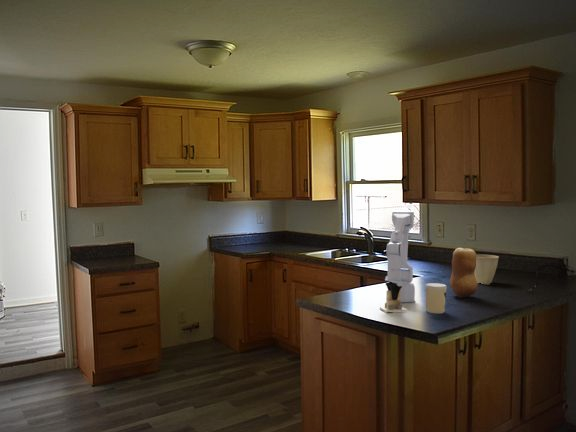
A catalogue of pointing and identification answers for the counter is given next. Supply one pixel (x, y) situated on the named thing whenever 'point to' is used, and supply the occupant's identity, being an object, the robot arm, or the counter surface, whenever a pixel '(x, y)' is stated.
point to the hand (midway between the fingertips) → (393, 299)
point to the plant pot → (485, 268)
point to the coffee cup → (435, 297)
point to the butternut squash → (463, 272)
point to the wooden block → (392, 302)
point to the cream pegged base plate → (391, 308)
